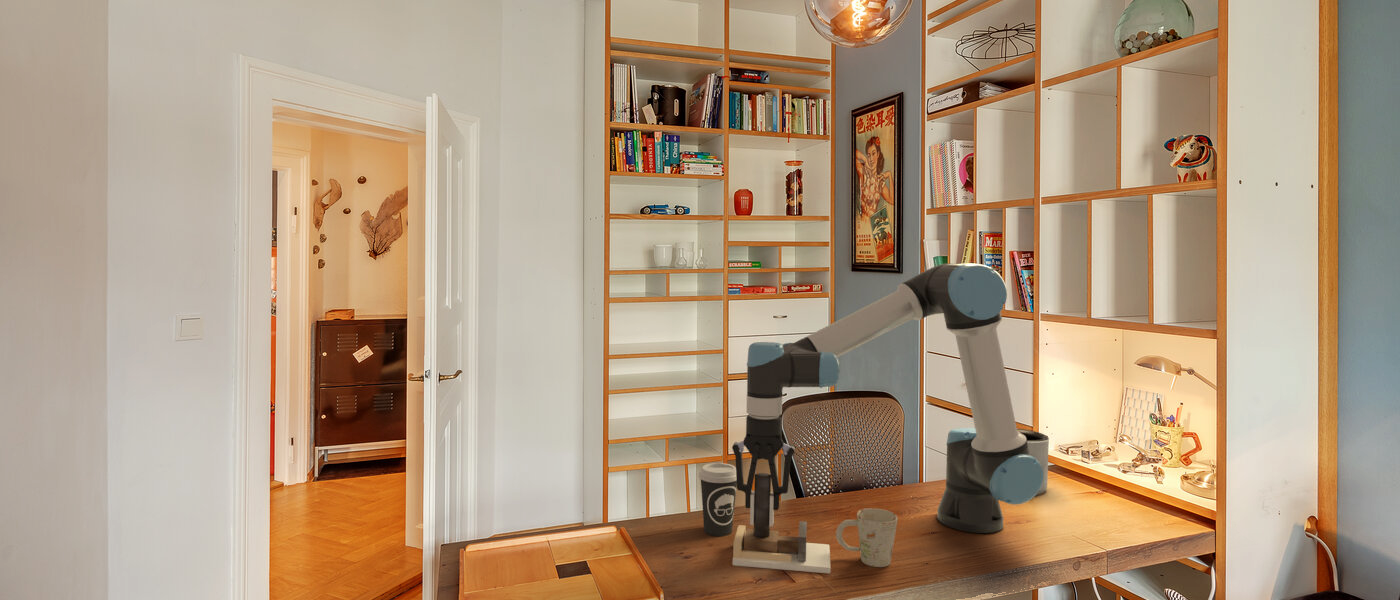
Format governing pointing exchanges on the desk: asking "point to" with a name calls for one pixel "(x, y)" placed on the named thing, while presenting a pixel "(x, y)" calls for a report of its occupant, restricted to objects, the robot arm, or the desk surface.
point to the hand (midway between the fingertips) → (761, 523)
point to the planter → (1038, 452)
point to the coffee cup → (718, 497)
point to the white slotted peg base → (781, 557)
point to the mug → (872, 535)
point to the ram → (761, 534)
